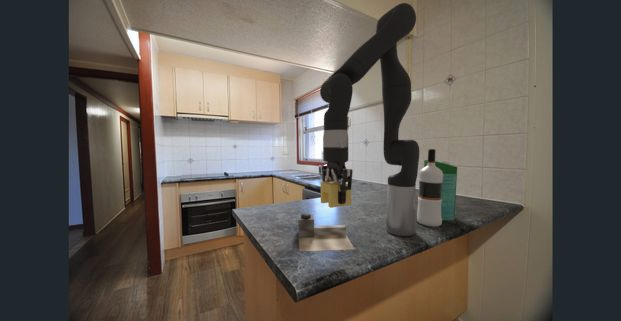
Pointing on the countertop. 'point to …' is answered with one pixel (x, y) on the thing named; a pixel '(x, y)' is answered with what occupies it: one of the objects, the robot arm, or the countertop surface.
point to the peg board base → (321, 236)
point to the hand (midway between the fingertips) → (335, 200)
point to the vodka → (430, 193)
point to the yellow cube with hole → (333, 194)
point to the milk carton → (447, 188)
